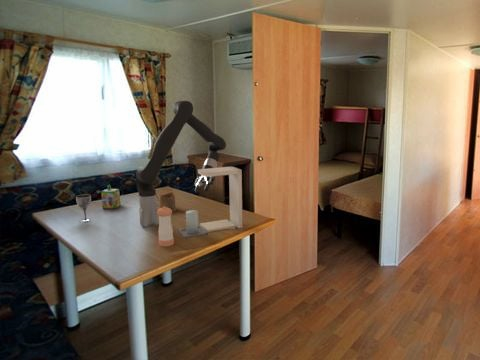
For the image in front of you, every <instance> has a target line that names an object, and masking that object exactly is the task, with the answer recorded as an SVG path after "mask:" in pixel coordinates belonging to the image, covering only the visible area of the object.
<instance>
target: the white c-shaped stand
mask: <svg viewBox="0 0 480 360" xmlns="http://www.w3.org/2000/svg"><path fill="white" fill-rule="evenodd" d="M242 171H243V170H242V169H240V168H238V167H235V166H223V167H222V166H221V167H216V168H209V169H202V168H200V169H198V168H197V174H199V175H200V176H201V175H203V176H205V177H210V176H215V177H219V176H228V179H229V180H228V186H229V187H228V188H229V219H219V220H214V221H213V220H212V221H207V222H201V223H199V226H200V227H202V228H203V229H204V230H205V231H206V232H207V233H210V232H216V231H222V230H227V229H231V230H236V228H238V229H243V186H242V185H243V182H242V180H243V177H242V176H243V173H242Z"/></svg>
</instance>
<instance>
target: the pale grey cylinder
mask: <svg viewBox="0 0 480 360" xmlns="http://www.w3.org/2000/svg"><path fill="white" fill-rule="evenodd" d="M185 217H186V218H185V220H186V223H185V224H186V228H187V234H197V233H198V232H199V230H198V226H199V211H198V210H195V209H194V210H193V209H191V210H187V211H185Z"/></svg>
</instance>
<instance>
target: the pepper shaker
mask: <svg viewBox="0 0 480 360" xmlns="http://www.w3.org/2000/svg"><path fill="white" fill-rule="evenodd" d="M159 208H160V207H159ZM159 208H157V217H158V232H157V233H158V240H157V241H158V246H159V247H170V246H172V245H174V244H175V238H174V234H173V233H174V231H173V225H172V219H171V217H172V213H173V211H172V210H171V209H170V208H167V207H165V206H164V207H163V208H160V209H159Z"/></svg>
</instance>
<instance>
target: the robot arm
mask: <svg viewBox="0 0 480 360" xmlns="http://www.w3.org/2000/svg"><path fill="white" fill-rule="evenodd" d="M172 112H173V113H174V116H173V118H172V120H171V121H170V122H169V123H168V124H167V125H166V126H165V127H164V128H163V130H162V131H160V134H159V135H158V137H157V139H156V140H155V143H154V146H153V151H152V154H151V157H150V159H149V161H147V164H146V165H141V166H139V167H138V168H137V170H136V172H135V179H136V188H137V192H138V202H139V208H138V212H139V224H140V226H141V227H142V228H149V227H154V226H158V225H159V217H158V215H157V211H158V206H157V205H158V204H157V203H158V201H157V197H156V193H157V191H156V188H155V186H154V182H155V181H156V179H157V177H158V175H159V173H160V171H161V168H162V167H163V164H164V162H165V160H166V159H167V158H168V155H169V154H170V152H171V150H172V148H173V146H174V144H175V143H176V141H177V139H178V137H179V135H180V133H181V131H182V130H183V128H184V126H185V125H186V124H187V125H188V126H190V127H191V129H193V130H194V131H195V132H196V133H197V134H198V135H199V136H200V137H201V138H202V139H203V140H204V141H205V142H207V143H209V145H208V151H207V153H208V154H207V156H206V159H205V161H204V162H203V163H204V164H203V166H202V168H201V169H209V168H218V167H217V165H218V163H219V159H220V154H219V151H223V150H225V149H226V146H227V143H226V141H225V139H224V138H222V137H221V136H220V135H219V134H217V133H215V132H214V131H213V130H212V129H211V128H210V127H209V126H207V124H206V123H204V122H203V121H202V120H200V119H198V117H196V116H195V115H194V114H193V112H194V105H193V103H192V101H189V100H179V101H176V102H174V104H173V106H172ZM215 179H216V176H210V177H205V176H203V175H201V174H200V176H197V177H196V179H195V181H194V183H193V185H194V186H195V188H194V193H196V194H198V193H199V191H200V187H201V186H203V185H204V184H205V185H204V189H203V190H204V191H205V192H208V191H209V189H210V187H211V185H212V186H213V185H214V183H215Z"/></svg>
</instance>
